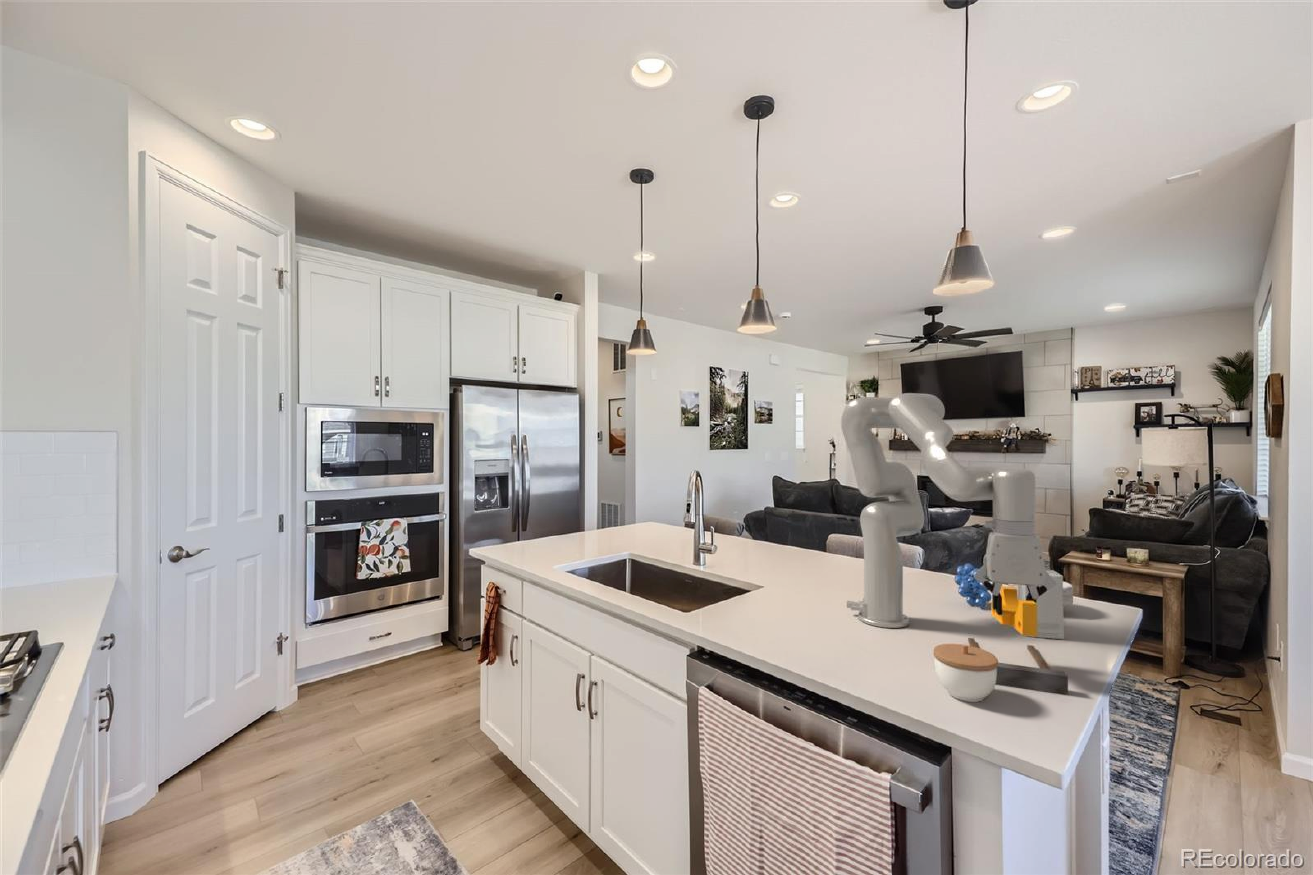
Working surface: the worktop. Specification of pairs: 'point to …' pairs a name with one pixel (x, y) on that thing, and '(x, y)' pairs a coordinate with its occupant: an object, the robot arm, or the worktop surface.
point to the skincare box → (1048, 608)
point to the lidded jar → (965, 671)
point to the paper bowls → (1066, 593)
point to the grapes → (971, 586)
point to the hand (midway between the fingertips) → (1014, 613)
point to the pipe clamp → (1017, 612)
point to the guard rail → (1031, 675)
